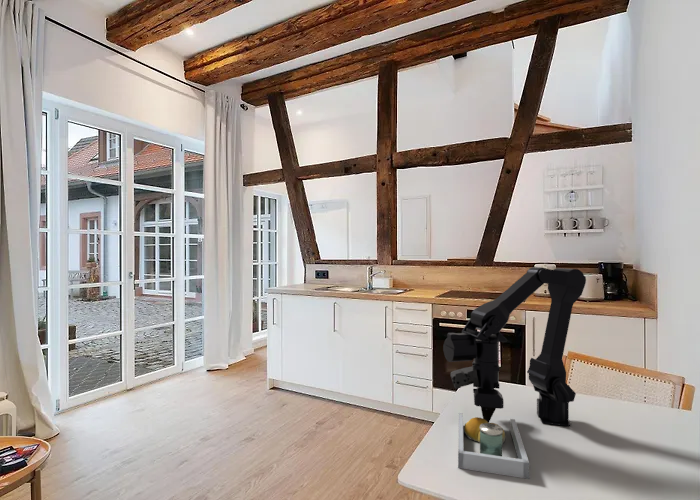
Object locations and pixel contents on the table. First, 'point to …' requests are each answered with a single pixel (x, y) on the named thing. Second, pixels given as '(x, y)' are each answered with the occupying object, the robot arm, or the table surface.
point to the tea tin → (491, 439)
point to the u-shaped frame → (495, 462)
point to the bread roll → (476, 429)
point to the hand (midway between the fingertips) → (486, 422)
